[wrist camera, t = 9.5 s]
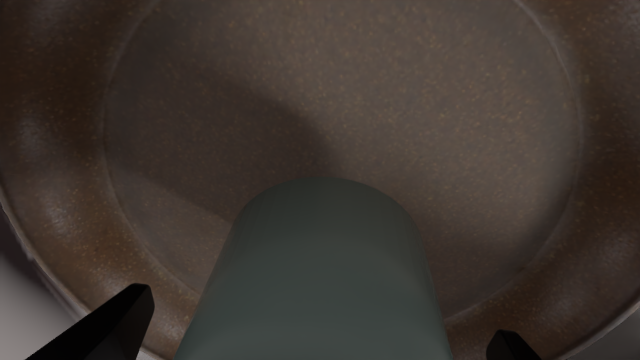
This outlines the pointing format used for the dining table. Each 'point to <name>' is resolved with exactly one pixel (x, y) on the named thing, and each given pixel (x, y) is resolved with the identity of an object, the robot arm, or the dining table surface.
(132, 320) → the robot arm
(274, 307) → the glazed flower pot
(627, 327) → the dining table surface
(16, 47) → the plant saucer
